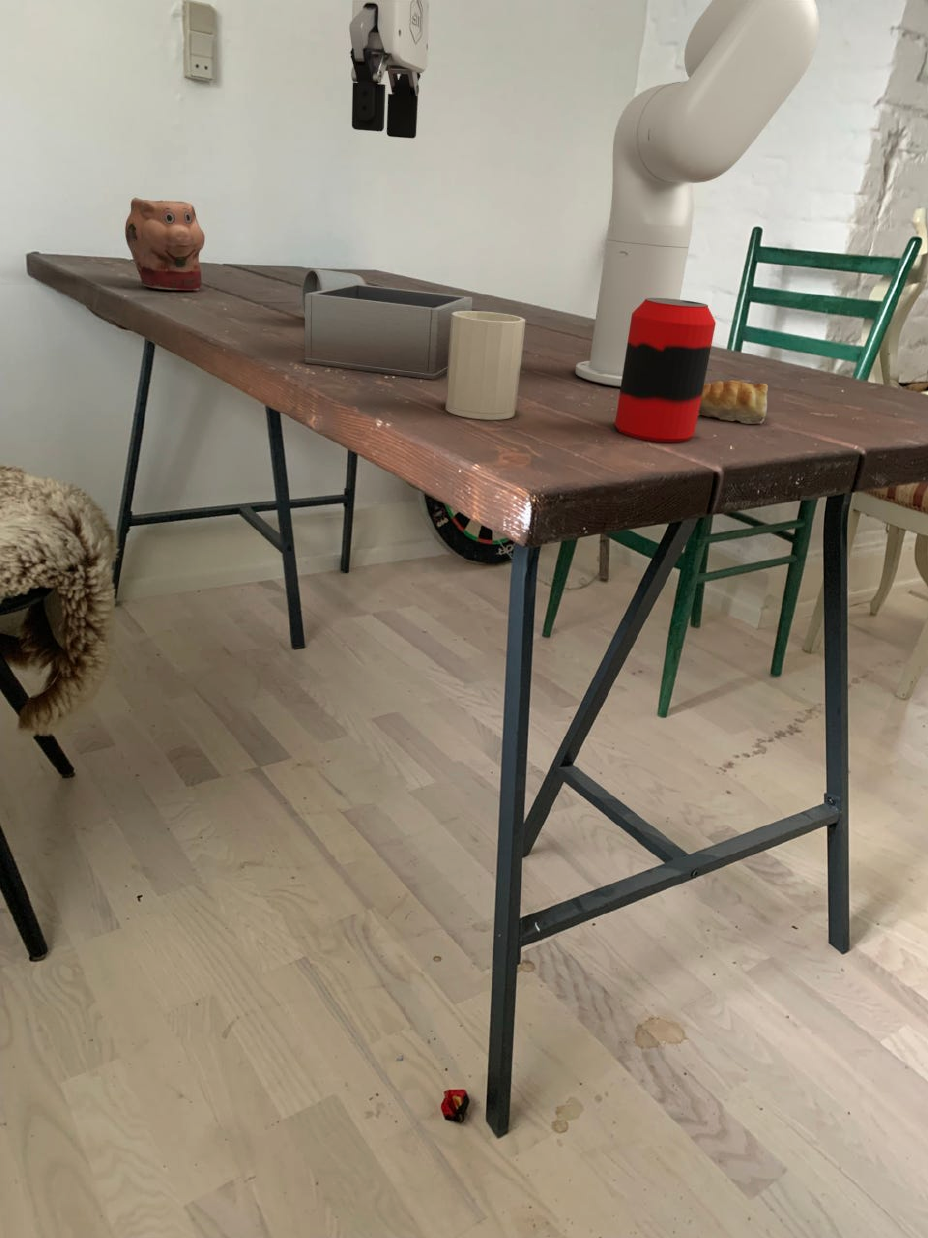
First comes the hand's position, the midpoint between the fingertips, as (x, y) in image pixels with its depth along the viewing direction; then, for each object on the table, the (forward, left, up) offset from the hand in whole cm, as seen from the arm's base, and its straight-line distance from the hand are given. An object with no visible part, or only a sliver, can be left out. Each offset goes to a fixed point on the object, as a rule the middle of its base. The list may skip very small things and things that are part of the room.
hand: (385, 133), depth 94 cm
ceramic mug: (+18, -30, -24) cm, 42 cm away
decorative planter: (+55, -47, -24) cm, 76 cm away
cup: (-15, +13, -24) cm, 31 cm away
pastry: (-39, -1, -24) cm, 46 cm away
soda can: (-32, +12, -24) cm, 42 cm away
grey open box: (+1, -7, -24) cm, 25 cm away
